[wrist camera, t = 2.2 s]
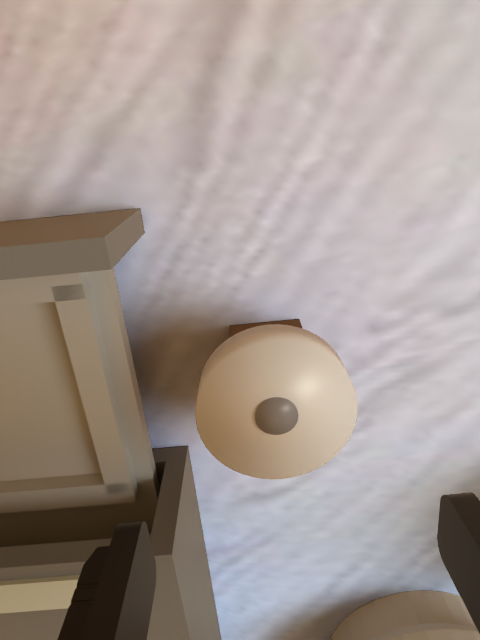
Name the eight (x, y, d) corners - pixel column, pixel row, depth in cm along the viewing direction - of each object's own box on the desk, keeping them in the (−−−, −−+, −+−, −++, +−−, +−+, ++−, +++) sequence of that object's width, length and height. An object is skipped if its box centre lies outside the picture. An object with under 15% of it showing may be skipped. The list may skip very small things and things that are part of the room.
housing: (-112, 471, 24) (-234, 590, 18) (187, 446, 23) (171, 559, 17) (-7, 677, 31) (-68, 815, 24) (225, 660, 30) (222, 796, 24)
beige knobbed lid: (188, 331, 17) (184, 352, 15) (347, 317, 17) (358, 336, 15) (208, 458, 19) (205, 486, 18) (347, 446, 19) (357, 474, 18)
